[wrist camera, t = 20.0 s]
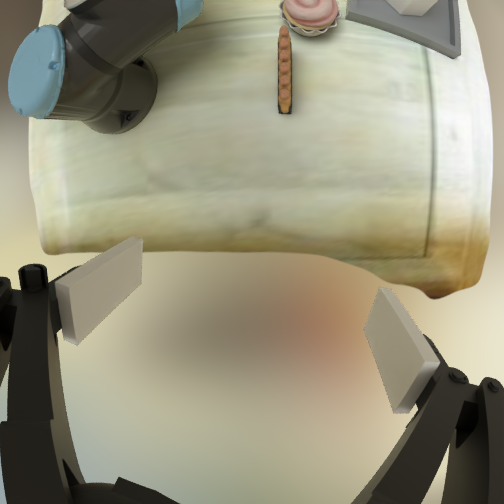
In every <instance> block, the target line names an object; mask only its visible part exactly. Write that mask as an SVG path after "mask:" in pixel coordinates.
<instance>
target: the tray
mask: <svg viewBox="0 0 504 504" xmlns="http://www.w3.org/2000/svg"><path fill="white" fill-rule="evenodd" d="M345 19H348V20H351V21H355V22H359V23H362V24H366V25H369V26H372V27H375V28H378V29H382V30H385V31H387V32H390V33H393V34H396V35H399V36H401V37H404V38H407V39H409V40H412V41H414V42H417V43H419V44H421V45H424V46H426V47H428V48H431V49H433V50H435V51H437V52H439V53H442V54H444V55H446V56H448V57H450V58H452V59H454V58H456V57H458V56H460V55H461V37H460V20H459V8H458V0H438V1H437V2H436V3H435V4H434V5H433V6H432V7H431V8H430V9H429V10H428V11H427V12H426V13H425V14H424V15H423V16H414V15H401V14H399V13H398V12H397V11H396V10H395V9H394V8H393V7H392V6H391V5H390V4H389V3H388V2H387V1H385V0H347V9H346V18H345Z"/></svg>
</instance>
